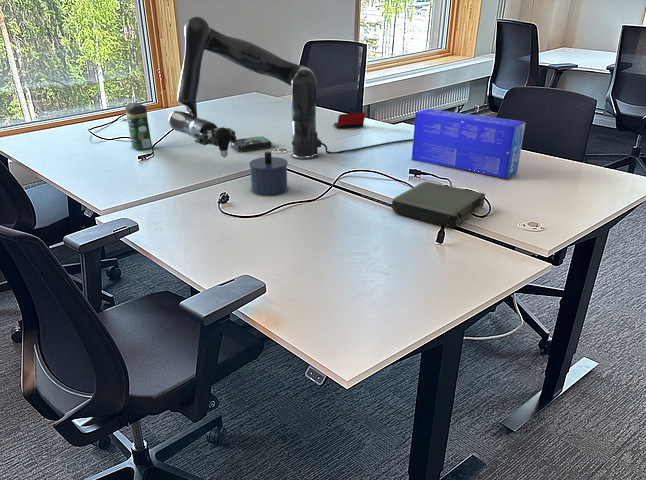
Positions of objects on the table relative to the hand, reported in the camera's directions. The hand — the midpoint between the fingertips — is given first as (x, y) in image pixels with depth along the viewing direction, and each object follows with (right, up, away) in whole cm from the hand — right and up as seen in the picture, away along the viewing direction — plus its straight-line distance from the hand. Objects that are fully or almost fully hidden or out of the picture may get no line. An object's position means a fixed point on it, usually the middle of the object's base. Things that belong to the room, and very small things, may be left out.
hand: (226, 141), depth 192 cm
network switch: (+66, -25, -12) cm, 72 cm away
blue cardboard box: (+85, -3, +24) cm, 88 cm away
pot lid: (+14, -6, +4) cm, 16 cm away
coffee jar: (-43, +13, +60) cm, 75 cm away
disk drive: (+5, +12, +55) cm, 57 cm away
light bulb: (-1, -4, +5) cm, 7 cm away
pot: (+14, -14, +9) cm, 22 cm away
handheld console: (+49, +28, +79) cm, 97 cm away
